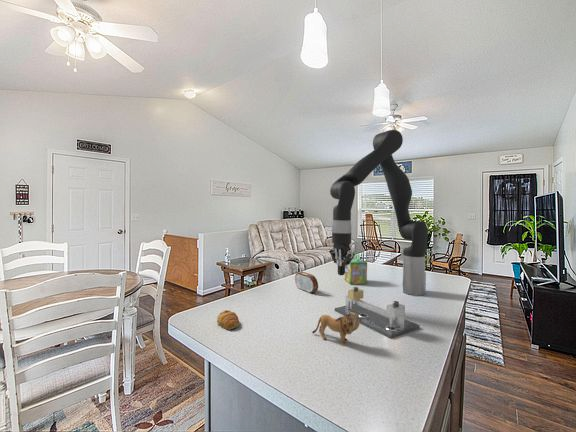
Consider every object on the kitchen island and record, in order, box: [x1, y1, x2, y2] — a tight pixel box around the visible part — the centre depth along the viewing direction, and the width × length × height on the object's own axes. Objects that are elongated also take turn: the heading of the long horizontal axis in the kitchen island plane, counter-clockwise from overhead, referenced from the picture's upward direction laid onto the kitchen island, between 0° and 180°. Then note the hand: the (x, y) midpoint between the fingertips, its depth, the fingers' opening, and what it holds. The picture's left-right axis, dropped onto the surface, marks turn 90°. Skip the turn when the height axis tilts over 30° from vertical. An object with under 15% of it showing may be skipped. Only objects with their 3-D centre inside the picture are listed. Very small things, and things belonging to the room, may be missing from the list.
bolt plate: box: [334, 303, 421, 339], centre depth 99 cm, size 14×26×1 cm, turn 30°
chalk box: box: [344, 253, 368, 285], centre depth 147 cm, size 9×9×15 cm
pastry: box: [216, 310, 240, 330], centre depth 94 cm, size 9×7×4 cm
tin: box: [294, 270, 319, 294], centre depth 132 cm, size 15×3×8 cm, turn 34°
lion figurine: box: [311, 312, 360, 346], centre depth 83 cm, size 15×5×9 cm, turn 63°
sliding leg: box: [347, 286, 364, 309], centre depth 105 cm, size 5×3×8 cm, turn 120°
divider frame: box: [345, 295, 406, 331], centre depth 98 cm, size 5×25×8 cm, turn 30°
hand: (341, 274), depth 111 cm, fingers closed
